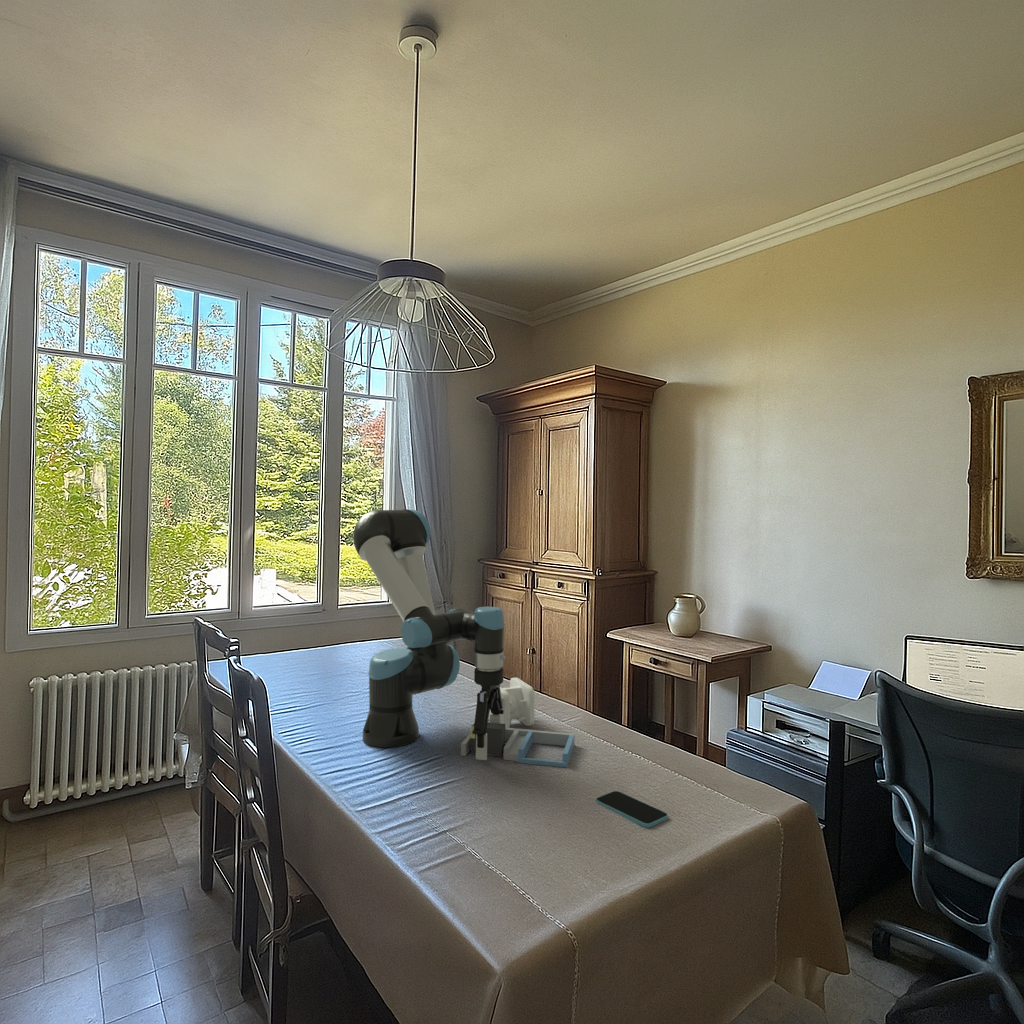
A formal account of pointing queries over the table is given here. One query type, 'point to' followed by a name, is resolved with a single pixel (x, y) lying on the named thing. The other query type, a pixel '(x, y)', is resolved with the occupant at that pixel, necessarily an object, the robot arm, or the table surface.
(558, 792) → the table surface
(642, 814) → the smartphone
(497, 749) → the yellow-capped grey block
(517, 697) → the cable organizer
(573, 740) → the grey frame
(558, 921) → the table surface
